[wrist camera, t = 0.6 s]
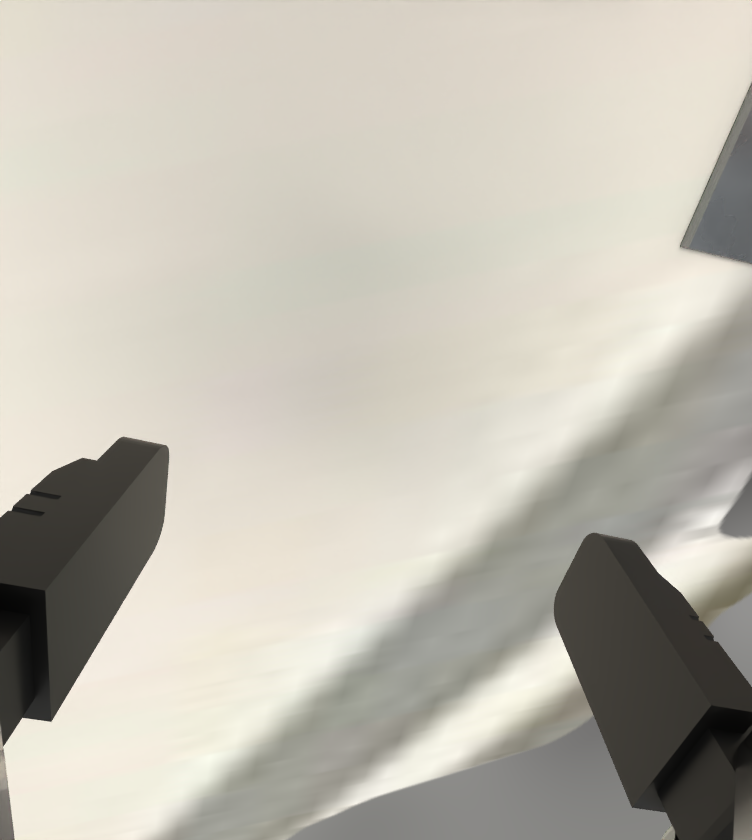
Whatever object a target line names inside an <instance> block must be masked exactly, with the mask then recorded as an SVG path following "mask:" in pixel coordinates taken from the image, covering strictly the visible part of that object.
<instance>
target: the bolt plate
mask: <svg viewBox="0 0 752 840" xmlns="http://www.w3.org/2000/svg"><path fill="white" fill-rule="evenodd" d="M680 247H684V248H689V249H693V250H697V251H701V252H705V253H710V254H714V255H718V256H722V257H726V258H730V259H735V260H739V261H743V262H747V263H751V264H752V84H751V87H750V89H749V91H748V93H747V96H746V98H745V100H744V103H743V105H742V107H741V109H740V112H739V114H738V116H737V118H736V121H735V123H734V125H733V128H732V130H731V132H730V134H729V137H728V139H727V141H726V143H725V146H724V148H723V150H722V152H721V155H720V157H719V159H718V162H717V164H716V166H715V168H714V171H713V173H712V175H711V177H710V180H709V182H708V184H707V186H706V189H705V191H704V193H703V196H702V198H701V200H700V202H699V205H698V207H697V209H696V211H695V214H694V216H693V218H692V221H691V223H690V225H689V227H688V230H687V232H686V234H685V236H684V239H683V241H682V243H681V245H680Z"/></svg>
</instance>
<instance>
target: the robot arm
mask: <svg viewBox="0 0 752 840" xmlns="http://www.w3.org/2000/svg"><path fill="white" fill-rule="evenodd" d="M168 465H169V449H168V447H167V446H166V445H162V444H157V443H152V442H147V441H142V440H137V439H132V438H127V437H121V438H119V439H118V440H117V441H116V442H115V443H114V444H113V445H112V446H111V447H110V448H109V449H108V450H107V451H106V452H105V453H104V454H103V455H102V456H101V457H100V458H99V459H98V460H97V461H96V460H91V459H85V458H81V459H79V460H77V461H74V462H72V463H70V464H68V465H65V466H63V467H61V468H58V469H56V470H54V471H52V472H51V473H50V474H49V475H47V476H46V477H45V478H44V479H43V480H42V481H41V482H40V483H39V484H37V485H36V486H35V487H34V488H33V489H32V490H31V493H30V495H29V494H26V495H25V496H24V497H23V498H22V499H21V500H19V501H18V502H17V503H16V504H15V505H14V506H13V509H12V511H7V512H6V513H5V514H4V515H3V516H2V517H0V840H15V839H14V831H13V822H12V814H11V806H10V797H9V789H8V781H7V772H6V764H5V756H4V751H3V746H4V745H5V743H6V742H7V740H8V739H9V737H10V736H11V734H12V733H13V731H14V729H15V728H16V726H17V725H18V723H19V722H20V720H21V719H22V718H29V719H36V720H43V721H50V722H51V721H52V720H53V718H54V716H55V715H56V713H57V711H58V710H59V708H60V706H61V705H62V703H63V701H64V700H65V698H66V696H67V695H68V693H69V691H70V690H71V688H72V686H73V685H74V683H75V681H76V680H77V678H78V676H79V675H80V673H81V671H82V670H83V668H84V666H85V665H86V663H87V661H88V660H89V658H90V656H91V655H92V653H93V651H94V650H95V648H96V646H97V645H98V643H99V641H100V640H101V638H102V636H103V635H104V633H105V631H106V630H107V628H108V626H109V625H110V623H111V621H112V620H113V618H114V616H115V615H116V613H117V611H118V610H119V608H120V606H121V605H122V603H123V601H124V600H125V598H126V596H127V595H128V593H129V591H130V590H131V588H132V586H133V585H134V583H135V581H136V580H137V578H138V576H139V575H140V573H141V571H142V570H143V568H144V566H145V565H146V563H147V561H148V560H149V558H150V556H151V555H152V553H153V551H154V549H155V547H156V545H157V543H158V540H159V537H160V534H161V531H162V527H163V523H164V516H165V504H166V491H167V478H168ZM554 617H555V622H556V625H557V628H558V630H559V633H560V635H561V638H562V640H563V642H564V645H565V647H566V650H567V652H568V654H569V657H570V659H571V662H572V664H573V666H574V669H575V671H576V674H577V676H578V679H579V681H580V683H581V686H582V688H583V691H584V693H585V695H586V698H587V700H588V703H589V705H590V707H591V710H592V712H593V715H594V717H595V719H596V722H597V724H598V727H599V729H600V732H601V734H602V736H603V739H604V741H605V744H606V746H607V748H608V751H609V753H610V756H611V758H612V760H613V763H614V765H615V768H616V770H617V772H618V775H619V777H620V780H621V782H622V785H623V787H624V789H625V792H626V794H627V797H628V799H629V801H630V804H631V806H632V808H639V809H646V810H653V811H660V812H666V813H667V815H668V817H669V820H670V822H671V824H672V825H671V826H670V827H669V828H668V830H667V831H666V832H665V834H664V836H663V837H662V840H752V687H751V685H750V684H749V683H748V681H747V680H746V679H745V678H744V676H743V675H742V673H741V672H740V671H739V670H738V668H737V667H736V666H735V664H734V663H733V661H732V660H731V659H730V658H729V656H728V655H727V653H726V652H725V651H724V649H723V648H722V647H721V646H720V644H719V643H718V642H715V641H714V640H713V638H714V636H713V635H712V634H711V632H710V631H709V630H708V628H707V627H706V626H705V624H704V623H703V622H702V621H699V620H698V618H699V616H698V615H697V614H696V612H695V611H694V610H693V608H692V607H691V606H690V604H689V603H688V602H687V600H686V599H685V598H684V596H683V595H682V594H681V593H680V592H679V591H678V590H677V589H676V588H675V587H673V586H672V585H671V584H670V583H669V582H668V581H667V580H665V579H664V578H663V577H662V576H661V575H660V574H659V573H658V572H657V571H656V569H655V568H654V567H653V565H652V564H651V562H650V561H649V560H648V558H647V557H646V556H645V554H644V553H643V552H642V550H641V549H640V547H639V546H638V545H637V544H636V543H635V542H634V541H632V540H628V539H623V538H618V537H613V536H608V535H603V534H598V533H591V534H589V535H588V536H586V537H585V539H584V540H583V542H582V544H581V546H580V548H579V549H578V551H577V553H576V555H575V557H574V559H573V561H572V563H571V565H570V567H569V569H568V571H567V573H566V575H565V577H564V579H563V581H562V583H561V585H560V587H559V589H558V591H557V593H556V597H555V602H554Z"/></svg>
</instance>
